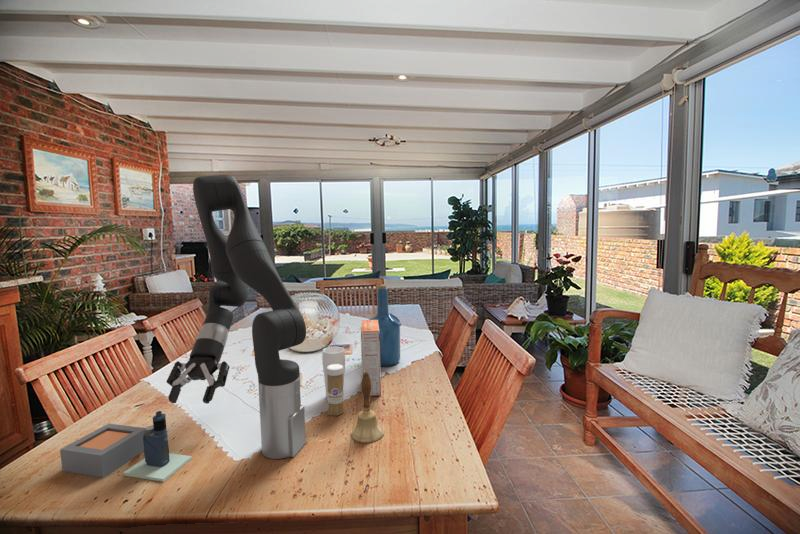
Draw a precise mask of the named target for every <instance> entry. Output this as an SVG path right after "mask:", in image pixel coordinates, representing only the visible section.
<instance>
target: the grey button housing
mask: <svg viewBox="0 0 800 534" xmlns="http://www.w3.org/2000/svg"><path fill="white" fill-rule="evenodd" d="M145 428H146V427H139V426H131V425H125V424H123V425H122V424H115V423H107V424H105V425H104V426H101V427H100V428H98V429H96V430H93V431H92V432H90V433H88V434H86V435H84V436H82V437H81V438H79V439H77V440H75V441H74V442H73V441H72V442H71V443H70V444H67V445H66V446H63V447H62V448H60V449H59V452H60V460H61V471H62V472H65V473H71V474H72V473H73V474H77V475H84V476H89V477H90V476H91V477H97V478H105V477H107V476H108V475H110V474H111V473H113V472H114V471H116V470H117V469H119V468H121V467H122V466H123V465H125V464H126V463H128V462H129V461H132V459H134V458H136V457H137V456H139V455H140V454H142V453H143V452H144V443H143V436H144V433H145ZM106 431H115V432H122V433H130V434H129V435H127V436H125V437H124V438H122V439H120V440H119V441H117V442H115V443H113V444H112V445H110V446H108V447H107V448H105V449H103V450H100V449H93V448H86V447H79V446H81V445H82V444H84V443H86V442H88V441H90V440H92V439H93V438H95V437H97V436H99V435H101V434H102V433H104V432H106Z"/></svg>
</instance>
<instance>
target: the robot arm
mask: <svg viewBox="0 0 800 534" xmlns="http://www.w3.org/2000/svg"><path fill="white" fill-rule="evenodd" d="M192 190H193V191H192V193H193V198H194V203H195V206H196V209H197V213H198V217H199V220H200V224H201V227H202V231H203V234H204V238H205V241H206V244H207V245H206V246H207V249H208V253H209V259H210V260H209V261H210V267H211V271H212V272H211V273H212V277H214V279H215V280H218V282H215V283H214V284H212V285H211V286H210V288H209V291H208V304H207V313H206V316H205V319H204V321H203V324H202V327H201V328H200V330H199V332H198V334H197V337H196V338H195V342H194V343H193V346H192V349H191V352H190V354H189V359H188V361H187V362H186V363H184V362H183V363H182V362H180V361H179V360H177V361H175V363H174V365H173V366H172V369H171V370H170V373H169V375H168V378H167V379H166V383H167V384H168V385H169V386H171V389H170V392H169V394H168V401H169V402H170V403H171V404H176V403H177V401H178V399H179V397H180V394H181V390H182V388H183V387H184V386H185V385H187V384H189V383H190V382H192V381H199V380H200V381H205V380H206V381H207V384H208V385H207V386H206V389H205V392H204V395H203V398H202V402H203V403H204V404H210V402H211V401H212V400H213V399H214V395H215V392H216V389H217V388H221V387H222V388H224V387H225V386H226V381H227V379H228V374H229V371H230V364H228V363H227V361H225V360H223V361H221V359H222V356H223V353H224V350H225V347H226V344H227V340H228V337H229V332H230V329H231V326H232V324H233V323H232V322H233V321H234V320H233V319H234V314H233V312H232V311H231V310H229V309H228V308H225V307H241V306H244V305H245V303H246V302H247V300H248V289H247V287H246V285H247V286H248V287H250V288H251V289H252V290H254V291H256V293H258V294H259V295H260V296H262V297H263V299H265V301H266V303H268V304H269V307H270V308H271V309H272V310H270V311H263V312H260V313H257V314H256V315H255V317H254V318H253V321H252V325H251V334H252V336H251V337H252V345H253V354H254V364H255V369H256V373H257V381H258V382H257V383H258V402H259V403H258V405H259V419H260V420H259V423H260V425H259V426H260V439H261V440H260V445H261V452H262V453H261V454H262V455H263V456H264V457H266V458H268V459H273V460H279V459H281V460H282V459H284V458H285V459H286V458H294V457H296V455H297V454H298V452H300V450H301V449H302V448H303V446H305V444H306V441H307V440H306V416H305V415H306V414H305V410H306V409H305V406H304V405H302V403H301V378H300V375H301V374H300V373H301V372H300V366H299V364H298V363H297V362H296V361H293V360H289V359H281V358H280V353H279V352H280V351H284V350H286V349H289V348H292V347H295V346H299V345H301V344H302V343H304V341H305V340H306V337H307V326H306V322H305V319H304V317H303V315H302V313H301V311H300V309H299V307H298V306H297V304H296V303H295V300H294V299H293V297H292V296H291V294H290V293H289V291H288V290H287V287H286V286H285V284H284V283H283V281H282V278H281V277H280V274H279V273H278V270H277V269H276V267H275V265H274V262H273V259H272V258H271V255H270V253H269V250H268V248H267V246H266V244H265V242H264V240H263V238H262V237H261V235H260V232H259V231H258V228H257V226H256V225H255V223H254V220H253V217H252V215H251V213H250V210H249V207H248V205H247V202H246V199H245V197H244V194H243V191H242V189H241V185H240V184H239V182H238V180H237V179H236V177H235V176H233V175H231V174H216V175H213V174H212V175H205V176H204V175H203V176H202V175H201V176H197V177H195V178H194V180H193V182H192ZM227 210H231V211H232V213H233V223H232V226H231V229H230V231H229V234H228V237H227V236H226V234H225V233H224V232H223V231H222V230H221V229H220V228H219V226H218V225H217V223H216V221H215V219H214V217H213V212H219V211H227ZM219 281H220V282H219ZM222 306H223V307H222ZM220 362H221V363H220ZM217 371H218V374H217V378H216V377H215V375H214V373H216V372H217Z"/></svg>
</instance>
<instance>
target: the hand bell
mask: <svg viewBox="0 0 800 534" xmlns="http://www.w3.org/2000/svg"><path fill="white" fill-rule="evenodd" d="M360 390H361V394H362V397H363V399H362V400H363V401H362V402H363V403H362V404H363V405H362V407H363V410H361V411H359V412H358V415H357V422H356V425H355V427H354V428H353V429H351V433H350V437H351V439H352V440H353V441H354V442H355V441H356V442H358V443H362V444H363V443H364V444H368V443H374V442H376V441H378V440H380V439H381V438H382V437H383V436H384V432H385V431H384V429H383V428H382V426H381V425H380V424H379V423H378V420H377V414H376V412H375V411H374V410H372V409H371V405H370V404H371V403H370V402H371V401H370V400H371V399H370V397H371V396H370V393H371V380H370V377H369V373H368V372H364V373H363V377H361V380H360Z"/></svg>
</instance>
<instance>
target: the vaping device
mask: <svg viewBox="0 0 800 534" xmlns="http://www.w3.org/2000/svg"><path fill="white" fill-rule="evenodd" d="M166 419H167V418H166V414H165V413H162V410H158V411H156V412H155V415H153V417H152V425H148V426H146V427H144V428H145V433H144V436H143V443H144V451H143V452H144V458H145V462H147V465H149V466H156V467H163V466H165V465H166V464H168V463H169V461H170V459H169V453H170V451H169V450H170V449H169V439H168V436H169V435H168V428H167V420H166Z"/></svg>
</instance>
